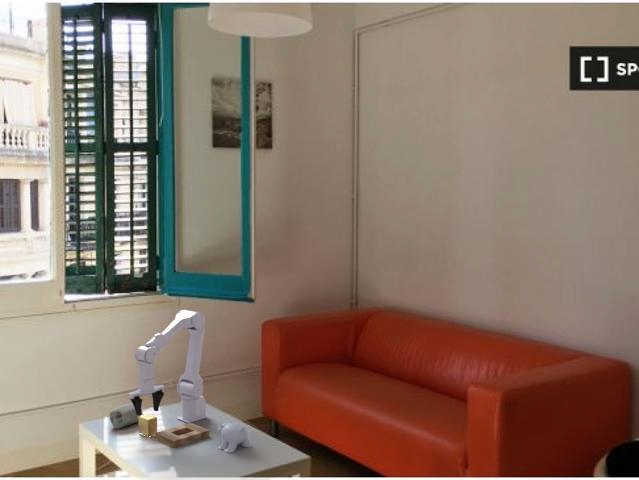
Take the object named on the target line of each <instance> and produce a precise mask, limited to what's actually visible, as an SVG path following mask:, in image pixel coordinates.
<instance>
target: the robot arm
mask: <svg viewBox="0 0 639 480" xmlns="http://www.w3.org/2000/svg"><path fill="white" fill-rule="evenodd" d="M205 325H206V317H205V315H204V314H203V313H202V312H201V311H192V310H187V309H181V310H179V312H178V313H177V314H175V319H173V321H171V323H170V324H169V325H168V326H167V327H166V328H165V330H164V331H162V332H161V333H160V332H159V333H155V334H154V335H153V337H152V338H151V339H150V340H149V341H147V342H146V343H145V344H144V345H141V346H139V347H138V348H137V349H136V352H135V354H134V357H135V359H136V361H137V365H138V389H135V390H133V391H132V392H129V393H128V399H130V403H133V405H134V408H135V411H136V415H138V416H141V409H142V405H143V404H142V403H143V399H142V398H141V397H144V396H146V395H151V397H152V405H153V406H152V407H153V411H155V412H158V411H159V408H160V406H161V405H160V404H161V401H162V399H163V397H164V395H165V385H162V384H159V385H155V362H156V361H157V359H158V355H160V352H162V351H163V350H164V348H166V347H167V346H168V345H169V340H170V339H171V338H172V337H173V336H174V335H176V334H177V333H178V332H180V331H181V330H182V329H186V330H187V331H188V332H189V334H190V336H189V342H188V349H187V356H186V363H185V364H186V365H185V371H184V373H183V374H181V375H180V377H179V381H178V383H177V385H176V391H177V393H178V394H179V397H180V400H181V401H180V404H181V405H180V406H181V408H180V409H181V410H180V413H181V416H180V415H179V416H177V418H176V419H177V420H180V421H181V422H184V423H186V424H187V423H193V422H197V421H200V420H203V419H206V418H208V416H207V414H206V413H207V412H206V411H207V410H206V408H207V407H206V406H207V404H206V399H205V397H204V395H203V393H204V384H203V383H204V380H203V378H202V377H201V375H200V374H199V373H200V367H201V361H202V353H203V345H204V338H205V333H206V332H205V331H206V329H205Z"/></svg>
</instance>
